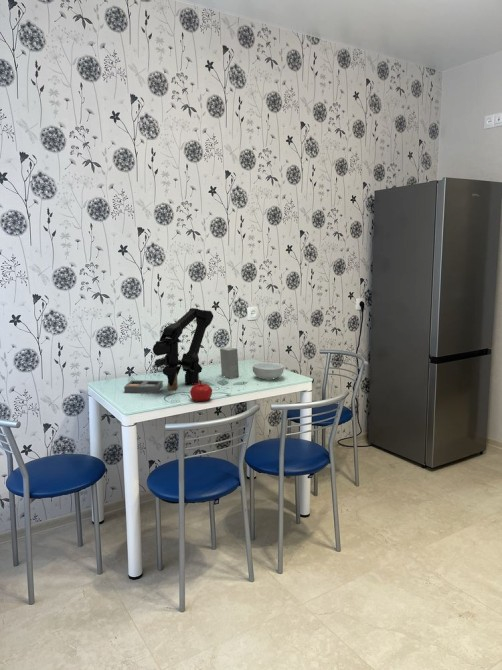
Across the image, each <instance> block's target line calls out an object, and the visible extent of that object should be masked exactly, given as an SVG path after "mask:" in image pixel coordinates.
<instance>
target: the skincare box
mask: <svg viewBox="0 0 502 670" xmlns="http://www.w3.org/2000/svg"><path fill="white" fill-rule="evenodd" d="M219 352H220V365H221V366H220V367H221V368H220V369H221V371H220V373H221V376H222V377H224V376H225V377H224V378H227V379H233V378H239V376H240V374H239V373H240V372H239V371H240V370H239V354H238V348H235V347H231V346H226V347H220V349H219Z"/></svg>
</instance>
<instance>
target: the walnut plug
mask: <svg viewBox="0 0 502 670" xmlns="http://www.w3.org/2000/svg"><path fill="white" fill-rule="evenodd" d="M178 389H179V386H178V376H177V374H176V377H175V380H174V383H173V385H172V386H170V384H169V381H168V380H167V391H170V392H173V391H175V392H176V391H178Z"/></svg>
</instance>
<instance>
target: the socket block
mask: <svg viewBox="0 0 502 670" xmlns="http://www.w3.org/2000/svg"><path fill="white" fill-rule="evenodd" d="M163 383H164V382H163V380H148V379H147V380H146V379H144V380H142V379H141V380H140V379H139V380H137V379H135V380H133V379H130V380H129V381H128V382H127V383H126V384H125V385H124V386H123V388H124V394H125V393H126V394H158V393H159V392H160V391H161V390H162V388H163V386H164V385H163Z"/></svg>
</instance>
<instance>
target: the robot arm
mask: <svg viewBox="0 0 502 670" xmlns="http://www.w3.org/2000/svg"><path fill="white" fill-rule="evenodd" d="M213 319H214V314H213V312H212V311H211V310H208V309H207V310H205V309H199V308H194V307H191V308H189V309H188V311H187V312H185V313H184V314H183V316H181V318H179V319H178V320H177V321H176V322H174V323H171V324H169V325H167V326H166V327H165V328H164V329H163V332H162V334H161V335H160V338H159V341H158V340H157V341H155V344H154V345H153V347H152V352H153V354H154V355H155V357H160V356H163V355H164V356H163V357H161V358H158V359H155V361H154V366H155V367H156V368H158V369H159V368H160V367H162V366H164V367H163V368H162V374H163V375H165V376H166V377H167V382H168V381H169V384H170V386H172V385H173V383H174V380H175V377H176V374H177V377H178V376H179V373H180V370H181V367H182V371H183V372H185V374H184V383H185V385H192V386H194V385H196V384H194V383H198V384H200V382H199V380H200V373H202V370H203V367H202V366H201V365H200V358H199V351H200V348H201V345H202V343H203V340H204V339H203V338H204V335H205V332H206V329H207V328H208V327H209V326H210V325H211V323H212V321H213ZM194 320H195V322H196V323H195V324H196V326H195V330H194V334H193V336H192V340H191V342H190V346H189V349H188V351H187V352H186V353H185V352H184V353H182V357H181V359H179V356H180V353H179V343H182V340H181V339H180V337H181V335H182V334H183V330H184V329H185V328H186V327H187V326H188V325H190V324H191V322H193V321H194Z"/></svg>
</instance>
